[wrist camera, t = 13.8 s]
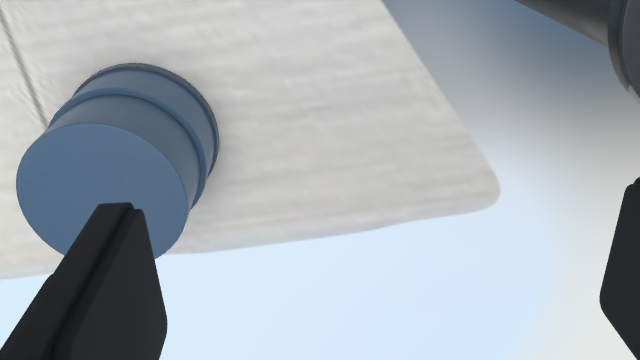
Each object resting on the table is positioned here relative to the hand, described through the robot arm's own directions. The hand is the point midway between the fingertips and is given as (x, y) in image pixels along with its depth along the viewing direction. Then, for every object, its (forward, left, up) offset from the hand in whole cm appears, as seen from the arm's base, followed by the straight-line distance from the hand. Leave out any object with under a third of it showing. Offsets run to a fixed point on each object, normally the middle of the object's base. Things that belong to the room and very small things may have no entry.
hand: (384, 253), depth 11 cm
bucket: (+14, +9, -30) cm, 35 cm away
